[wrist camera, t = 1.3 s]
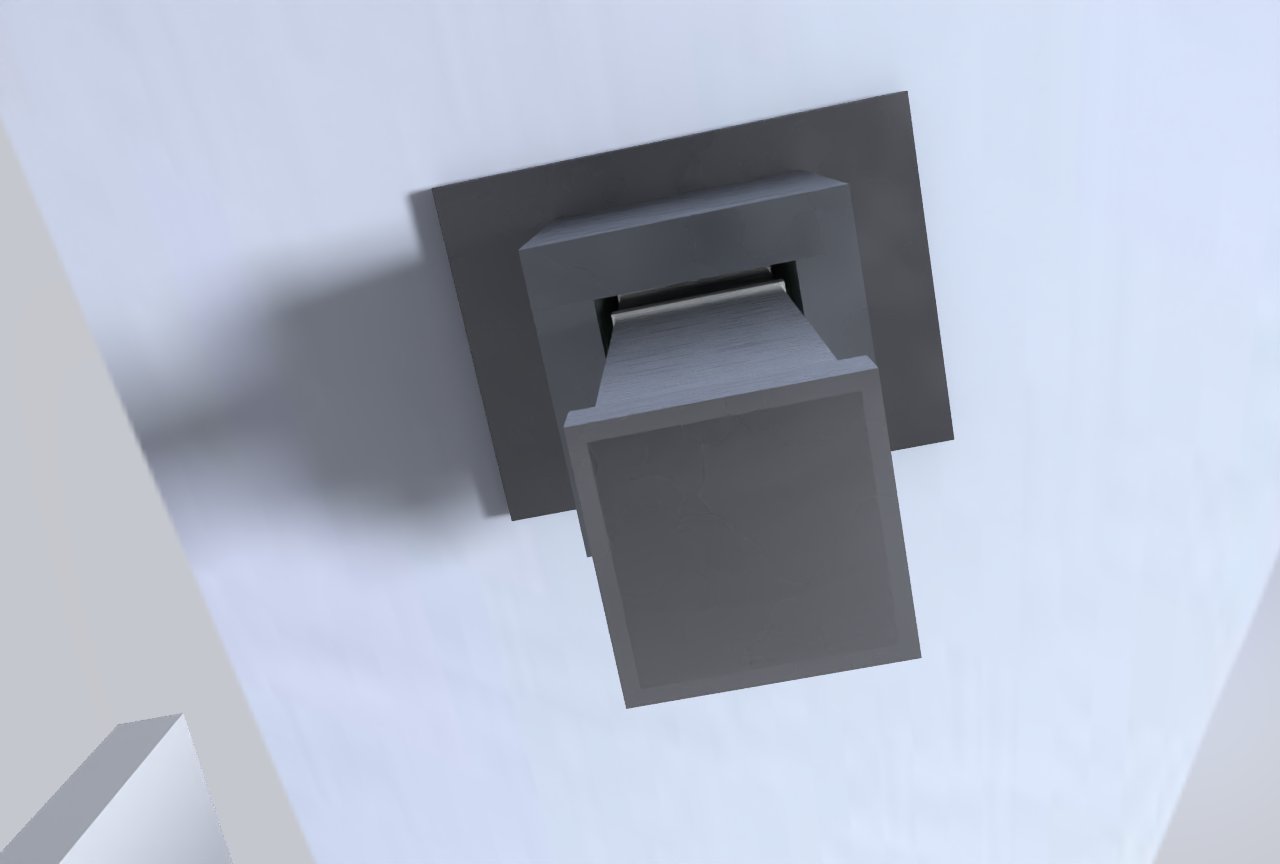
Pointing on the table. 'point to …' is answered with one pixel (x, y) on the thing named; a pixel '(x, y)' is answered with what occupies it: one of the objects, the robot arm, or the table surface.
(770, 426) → the column
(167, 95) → the table surface
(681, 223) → the stand
